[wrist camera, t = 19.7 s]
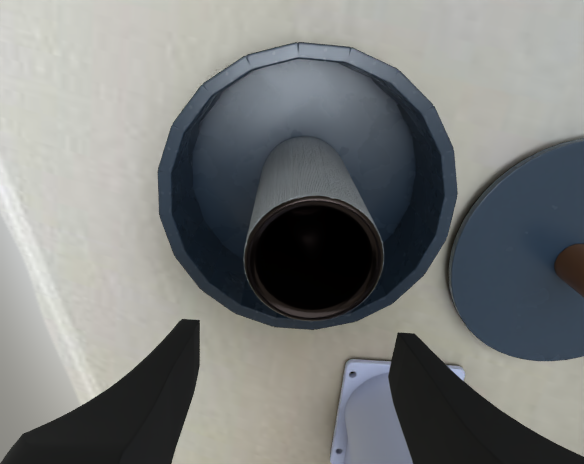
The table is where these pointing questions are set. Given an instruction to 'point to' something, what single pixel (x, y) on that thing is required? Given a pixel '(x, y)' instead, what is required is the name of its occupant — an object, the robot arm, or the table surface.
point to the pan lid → (526, 258)
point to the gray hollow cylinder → (310, 235)
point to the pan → (318, 124)
